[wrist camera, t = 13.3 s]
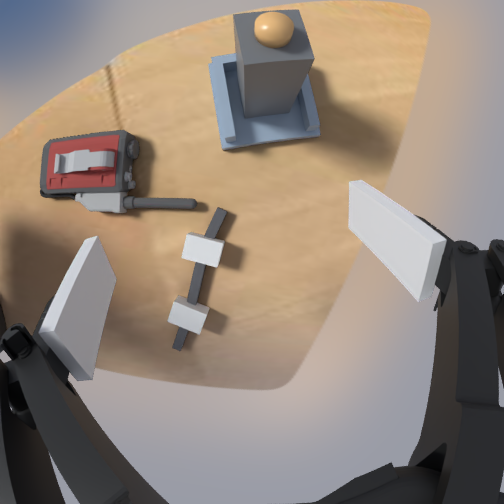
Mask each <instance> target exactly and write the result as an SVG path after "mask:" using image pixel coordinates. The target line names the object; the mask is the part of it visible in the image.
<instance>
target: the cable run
mask: <svg viewBox="0 0 504 504" xmlns="http://www.w3.org/2000/svg"><path fill="white" fill-rule="evenodd" d="M226 214H227V211H225V210H223V209H221V208H219V207H218V208H217V210H216V212H215V214H214V216H213V218H212V220H211V223H210V225H209V227H208V229H207V231H206V233H205V235H201V234H197V233H194V232H190V233H188V234H187V236H186V240H185V245H184V249H183V253H182V258H183V259H187V260H191V261H194V262H196V263H195V267H194V272H193V276H192V280H191V285H190V289H189V294H188V298H185V297H182V296H180V295H178V297H177V298H176V299H175V301H174V303H173V306H172V309H171V312H170V315H169V318H168V322H170V323H172V324H175V325H177V326H179V330H178V333H177V335H176V338H175V341H174V344H173V347H172V348H174V349H176V350H179V351H181V349H182V347H183V344H184V341H185V338H186V336H187V333H188V330H189V331H192V332H194V333H197V334H199V335H200V332H201V329H202V327H203V324H204V322H205V319H206V317H207V314H208V311H209V307H207V306H204V305H202V304H199V303H197V301H198V297H199V292H200V288H201V284H202V280H203V276H204V271H205V267H206V265H209V266H213V267H216V268H217V267H218V265H219V262H220V258H221V255H222V251H223V247H224V243H225V241H224V240H220V239H216V238H215V237H216V235H217V233H218V231H219V228H220V226H221V224H222V222H223V220H224V218H225V216H226Z"/></svg>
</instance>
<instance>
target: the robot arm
mask: <svg viewBox="0 0 504 504" xmlns="http://www.w3.org/2000/svg"><path fill="white" fill-rule="evenodd" d="M349 229H350V230H351V231H352V232H353V233H354V234H355V235H356V236H357V237H358V238H359V239H360V240H361V241H362V242H363V243H364V244H365V245H366V246H367V247H368V248H369V249H370V250H371V251H372V252H373V253H374V254H375V255H376V256H377V257H378V258H379V259H380V260H381V261H382V262H383V264H384V265H385V266H386V267H387V268H388V269H389V270H390V271H391V272H392V273H393V274H394V275H395V276H396V277H397V279H398V280H399V281H400V282H401V283H402V284H403V285H404V286H405V288H406V289H407V290H408V291H409V292H410V293H411V294H412V295H413V297H414V298H415V299H416V300H417V301H418V302H420V301H422V300H424V299H427V298H429V297H431V296H432V293H433V290H434V286H435V285H436V286H437V287H438V288H439V289H440V292H439V295H438V298H437V301H436V304H435V307H434V311H436V309H437V307H438V314H437V315H438V316H437V333H436V345H435V355H434V364H433V372H432V379H431V386H430V392H429V398H428V404H427V409H426V414H425V418H424V423H423V427H422V432H421V436H420V439H419V442H418V444H417V446H416V448H415V450H414V452H413V454H412V456H411V458H410V461H409V464H408V466H402V467H395V468H394V467H393V465H392V463H389V464H387V465H385V466H382V467H380V468H378V469H376V470H374V471H371V472H369V473H367V474H364V475H362V476H359V477H357V478H354V479H353V480H351V481H350V482H348V483H347V484H345V485H344V486H342V487H340V488H339V489H337V490H336V491H334V492H332V493H331V494H329V495H328V496H326V497H324V498H322V499H321V500H319V501H316V502H313V503H299V504H504V493H502V492H500V487H501V482H502V477H503V471H504V407H500V405H499V401H498V400H499V378H498V377H499V376H498V367H499V371H500V374H501V379H502V383H503V387H504V294H503V295H502V293H501V288H502V286H503V284H504V241H503V240H498V239H496V240H492V241H491V243H490V246H489V250H482V251H481V250H479V249H478V247H476V246H475V245H474V244H472V243H470V242H467V241H456V242H454V241H453V240H451V239H450V238H449V237H447V236H446V235H445V234H444V233H442V232H441V231H440V230H439V229H436V227H435V226H433V225H431V224H430V223H429V222H428V221H426V220H425V219H423V218H421V217H419V216H416V215H414V214H412V213H410V212H409V211H408V210H406V209H405V208H403V207H402V206H400V205H399V204H397V203H396V202H395V201H393V200H392V199H390V198H389V197H387V196H386V195H384V194H383V193H381V192H380V191H378V190H377V189H375V188H373V187H372V186H370V185H369V184H367V183H366V182H364V181H362V180H357V181H350V182H349ZM116 280H117V279H116V277H115V274H114V272H113V270H112V268H111V266H110V263H109V261H108V259H107V256H106V254H105V252H104V249H103V247H102V245H101V242H100V240H99V237H98V236H95V237H91V238H88V239H85V241H84V243H83V244H82V246H81V248H80V249H79V251H78V253H77V255H76V257H75V258H74V260H73V262H72V264H71V266H70V268H69V269H68V271H67V273H66V275H65V277H64V279H63V281H62V283H61V285H60V287H59V289H58V291H57V293H56V295H54V296H53V297H52V298H51V299H50V300H49V302H48V303H47V305H46V307H45V309H44V311H43V312H44V313H42V315H41V320H39V322H38V324H37V327H36V329H35V331H34V334H33V336H31V335H30V333H29V332H28V330H27V329H26V328H25V326H24V325H23V324H21V323H18V324H14V325H13V326H11V327H10V328H9V329H8V330H6V326H5V320H4V316H3V312H2V309H1V306H0V353H1V352H2V351H3V350H4V351H5V352H6V353H7V355H8V356H9V357H10V358H11V359H12V360H11V361H8V362H6V363H3V362H2V360H1V359H0V504H65V501H64V498H63V496H62V493H61V490H60V487H59V485H58V482H57V479H56V476H55V473H54V469H53V466H52V463H51V459H50V455H51V457H52V459H53V460H54V462H55V464H56V466H57V468H58V470H59V471H60V473H61V475H62V476H63V478H64V480H65V481H66V483H67V484H68V486H69V488H70V489H71V491H72V492H73V494H74V495H75V497H76V498H77V500H78V501H79V503H80V504H169V503H168V502H167V501H166V500H165V499H163V498H162V497H161V496H160V495H159V494H158V493H157V492H156V491H155V490H154V489H153V488H152V487H151V486H150V485H149V484H148V483H147V482H146V481H145V479H143V477H142V476H141V475H140V474H139V473H138V472H137V471H136V470H135V469H134V468H133V467H132V465H131V464H130V463H129V462H128V461H127V460H126V458H125V457H124V456H123V455H122V454H121V453H120V451H119V450H118V449H117V448H116V446H115V445H114V444H113V443H112V441H111V440H110V439H109V438H108V436H107V435H106V434H105V432H104V431H103V430H102V428H101V427H100V426H99V424H98V423H97V421H96V420H95V419H94V417H93V416H92V414H91V413H90V412H89V410H88V409H87V407H86V406H85V404H84V403H83V401H82V400H81V398H80V396H79V395H78V393H77V392H76V390H75V389H74V387H73V385H72V384H71V383H70V382H69V381H68V375H69V372H70V373H71V374H72V375H73V377H74V378H75V379H76V380H77V381H83V380H92V379H93V374H94V369H95V364H96V359H97V354H98V350H99V345H100V341H101V336H102V332H103V328H104V324H105V320H106V316H107V312H108V308H109V305H110V301H111V297H112V294H113V290H114V287H115V284H116ZM10 407H11V408H12V411H11V409H10ZM48 451H49V452H48ZM49 453H50V455H49Z"/></svg>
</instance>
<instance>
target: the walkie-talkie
mask: <svg viewBox="0 0 504 504" xmlns="http://www.w3.org/2000/svg"><path fill="white" fill-rule="evenodd" d="M138 155H139V143H138V141H137V140H135V137H134V136H133V135H132V134H130V133H128V132H126V131H125V130H117V131H108V132H99V133H90V134H85V135H81V136H80V135H78V136H70V137H66V138H65V137H63V138H59V139H58V138H56V139H53V140H51V139H50V140H49V141H48V142H47V143H46V144H45V146H44V148H43V154H42V164H41V175H40V188H41V190H40V194H41V196H42V197H45V198H51V197H71V198H72V199H75V201H79V202H80V203H81V204H82V205H83V206H84V207H86V208H87V209H88V210H89V211H107V212H114V213H126V212H127V209H134V208H179V209H194V208H195V207H196V206H197V202H196V200H195V199H187V198H136V197H135V196H127V192H128V191H130V190H131V189H132V188H135V185H136V183H135V181H132V180H131V179H132V164H133V159H136V158H137V157H138ZM73 193H76V196H75V195H74V194H73Z"/></svg>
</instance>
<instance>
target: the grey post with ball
mask: <svg viewBox="0 0 504 504" xmlns="http://www.w3.org/2000/svg"><path fill="white" fill-rule="evenodd" d="M233 20H234V34H235V49H236V63H237V77H238V84H239V90H240V95H241V100H242V106H243V111H244V116H245V119H247V118H254V117H260V116H268V115H276V114H284V113H289V112H290V110H291V108H292V106H293V104H294V101H295V99H296V97H297V95H298V93H299V91H300V89H301V87H302V84H303V82H304V80H305V78H306V76H307V74H308V72H309V70H310V68H311V66H312V63H313V61H314V59H315V58H314V55H313V52H312V48H311V45H310V42H309V39H308V36H307V33H306V30H305V27H304V24H303V21H302V18H301V15H300V12H299V10H276V11H262V12H251V13H242V14H234V15H233Z"/></svg>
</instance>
